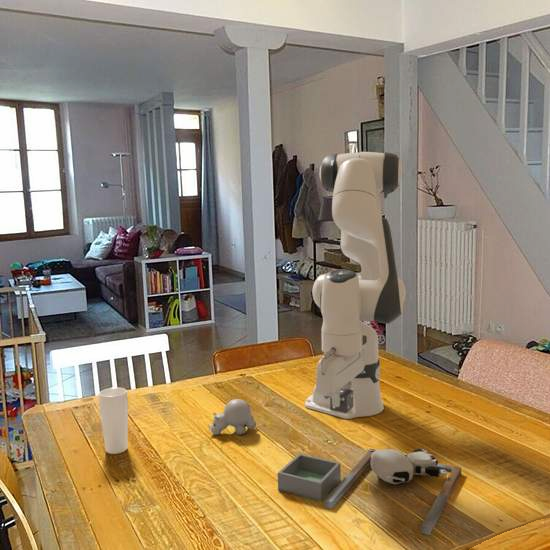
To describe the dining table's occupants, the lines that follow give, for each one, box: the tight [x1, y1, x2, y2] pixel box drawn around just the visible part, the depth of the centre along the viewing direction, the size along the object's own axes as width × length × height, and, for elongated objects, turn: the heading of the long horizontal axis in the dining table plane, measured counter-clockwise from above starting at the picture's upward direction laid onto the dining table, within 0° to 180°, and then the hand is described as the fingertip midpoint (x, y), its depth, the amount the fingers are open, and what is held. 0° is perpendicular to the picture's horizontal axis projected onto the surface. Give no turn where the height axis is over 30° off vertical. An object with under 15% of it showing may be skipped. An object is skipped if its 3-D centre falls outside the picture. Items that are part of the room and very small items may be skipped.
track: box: [324, 448, 462, 536], centre depth 126 cm, size 21×28×2 cm
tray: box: [277, 453, 342, 503], centre depth 128 cm, size 10×10×4 cm
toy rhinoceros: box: [207, 398, 258, 436], centre depth 156 cm, size 7×12×8 cm, turn 101°
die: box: [330, 388, 353, 413], centre depth 136 cm, size 4×4×4 cm
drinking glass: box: [98, 387, 129, 455], centre depth 146 cm, size 7×7×15 cm
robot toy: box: [365, 448, 448, 485], centre depth 131 cm, size 12×4×15 cm
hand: (341, 401), depth 136 cm, fingers closed on die, 4 cm apart
